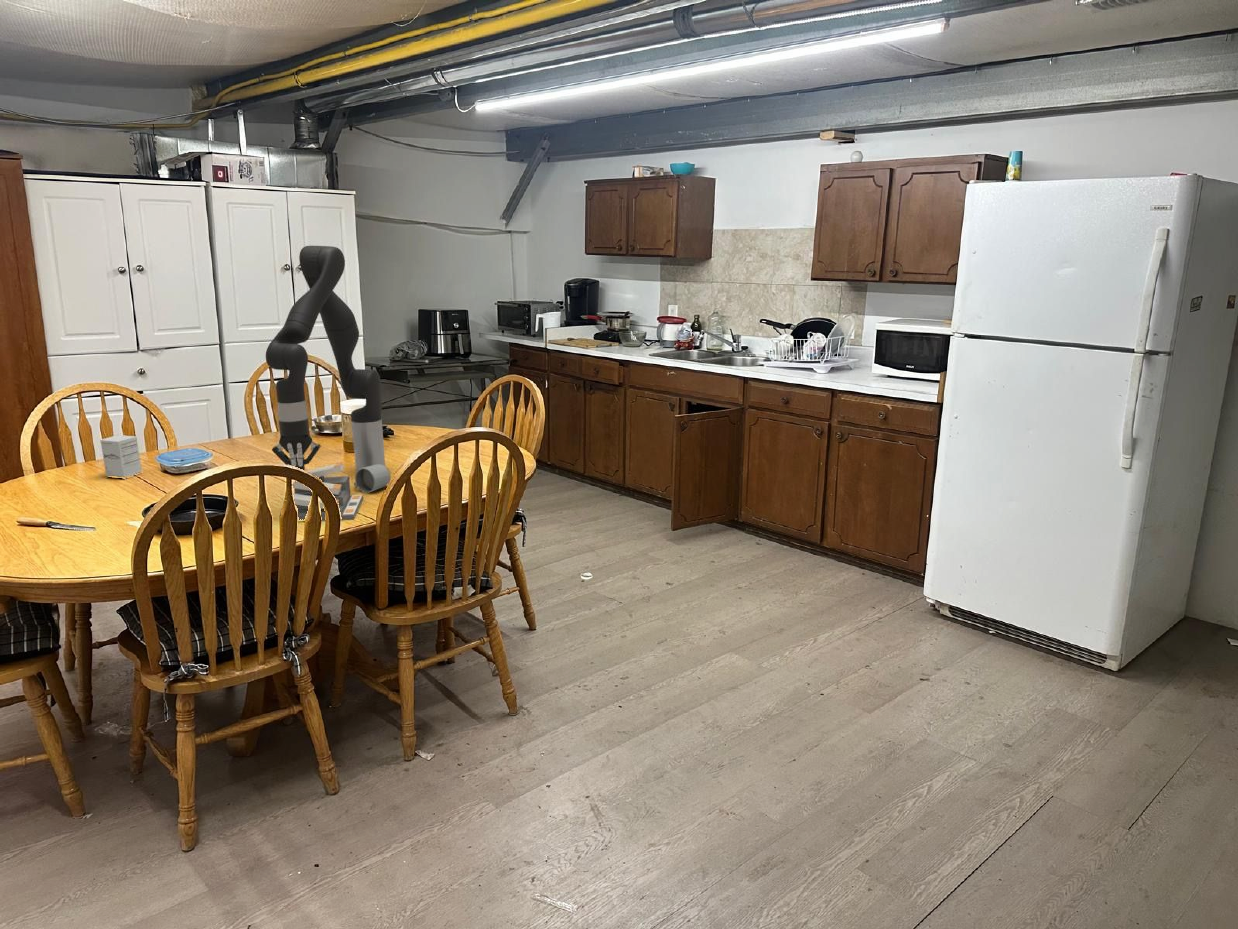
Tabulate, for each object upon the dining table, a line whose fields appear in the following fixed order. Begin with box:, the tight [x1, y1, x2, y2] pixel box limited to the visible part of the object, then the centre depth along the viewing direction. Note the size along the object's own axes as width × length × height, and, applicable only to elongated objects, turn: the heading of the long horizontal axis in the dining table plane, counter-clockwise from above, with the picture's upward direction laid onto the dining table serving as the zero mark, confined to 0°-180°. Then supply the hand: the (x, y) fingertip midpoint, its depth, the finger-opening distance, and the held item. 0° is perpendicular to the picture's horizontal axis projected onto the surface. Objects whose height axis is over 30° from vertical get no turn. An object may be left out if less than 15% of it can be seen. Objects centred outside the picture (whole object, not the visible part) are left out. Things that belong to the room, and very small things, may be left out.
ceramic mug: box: [353, 464, 391, 494], centre depth 257 cm, size 11×8×8 cm
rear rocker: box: [306, 461, 345, 477], centre depth 242 cm, size 4×12×2 cm, turn 98°
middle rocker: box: [293, 480, 341, 495], centre depth 237 cm, size 4×12×2 cm, turn 98°
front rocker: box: [292, 493, 339, 509], centre depth 232 cm, size 4×12×2 cm, turn 98°
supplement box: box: [100, 434, 143, 478], centre depth 270 cm, size 7×7×13 cm
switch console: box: [293, 475, 364, 522], centre depth 238 cm, size 18×18×8 cm
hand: (299, 478), depth 236 cm, fingers closed
